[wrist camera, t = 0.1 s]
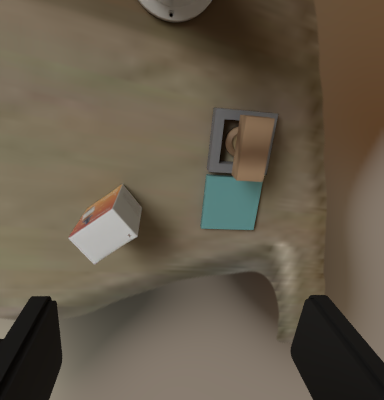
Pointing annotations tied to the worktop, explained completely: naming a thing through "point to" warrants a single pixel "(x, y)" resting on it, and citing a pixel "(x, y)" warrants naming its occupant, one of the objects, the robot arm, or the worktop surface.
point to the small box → (107, 225)
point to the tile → (229, 203)
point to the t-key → (250, 147)
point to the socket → (217, 133)
